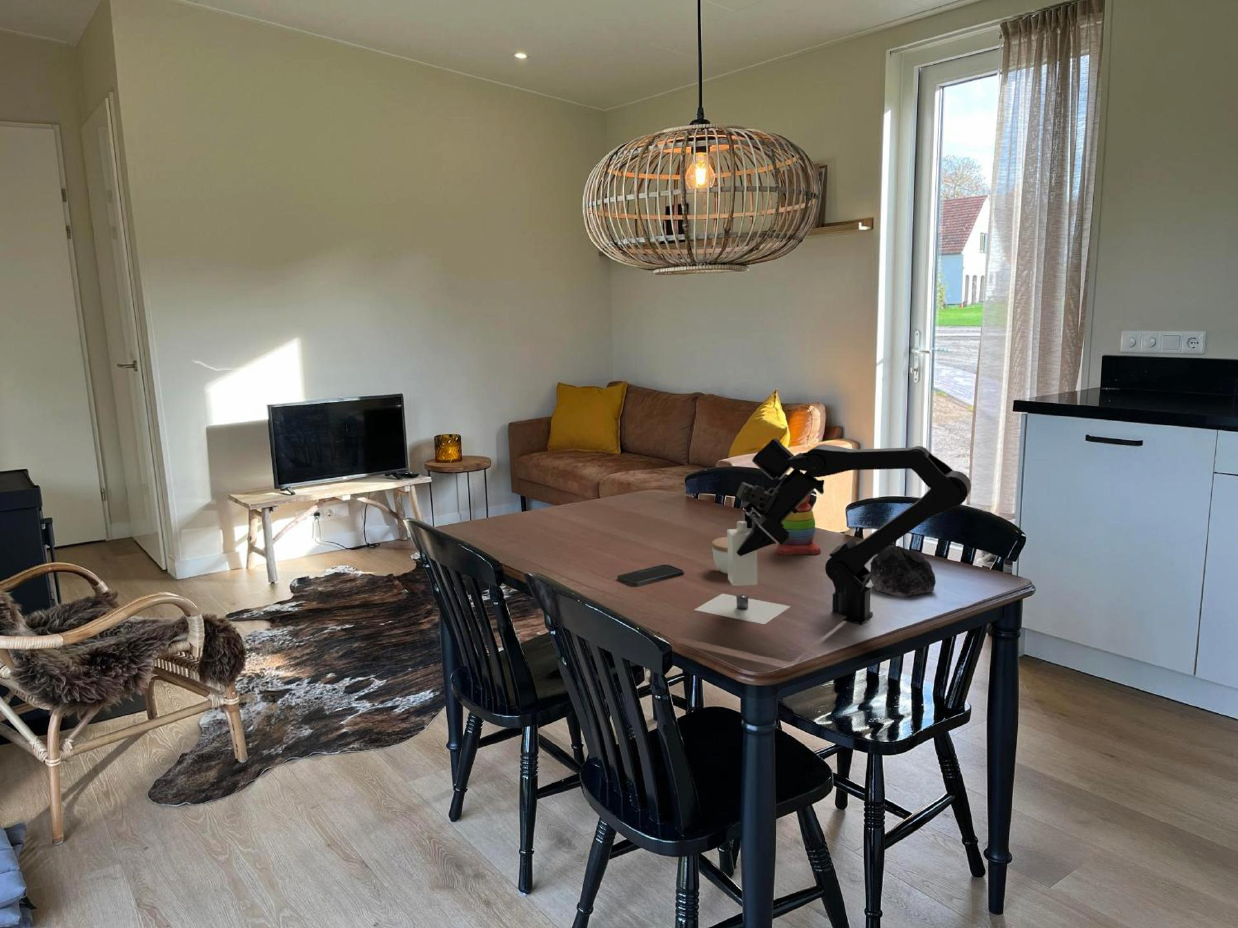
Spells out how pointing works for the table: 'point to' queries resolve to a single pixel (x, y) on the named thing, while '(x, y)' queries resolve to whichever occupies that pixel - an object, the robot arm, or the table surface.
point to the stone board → (754, 613)
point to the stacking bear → (800, 531)
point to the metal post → (742, 602)
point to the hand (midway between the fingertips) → (735, 550)
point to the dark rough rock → (901, 572)
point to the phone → (650, 575)
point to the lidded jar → (721, 554)
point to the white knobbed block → (741, 557)
